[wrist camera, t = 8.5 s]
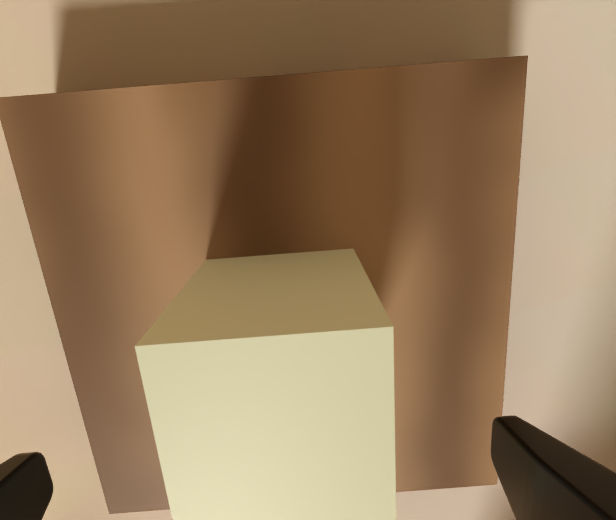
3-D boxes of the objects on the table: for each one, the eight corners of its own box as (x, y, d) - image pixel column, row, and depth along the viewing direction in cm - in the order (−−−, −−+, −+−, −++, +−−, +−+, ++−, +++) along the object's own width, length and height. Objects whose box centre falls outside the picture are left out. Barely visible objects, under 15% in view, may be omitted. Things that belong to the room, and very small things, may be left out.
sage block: (353, 248, 13) (393, 326, 8) (358, 378, 15) (396, 526, 9) (205, 259, 13) (134, 346, 8) (225, 388, 15) (177, 542, 9)
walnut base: (483, 72, 15) (528, 55, 12) (467, 433, 19) (497, 484, 16) (54, 106, 15) (-6, 98, 12) (138, 458, 19) (109, 513, 16)
